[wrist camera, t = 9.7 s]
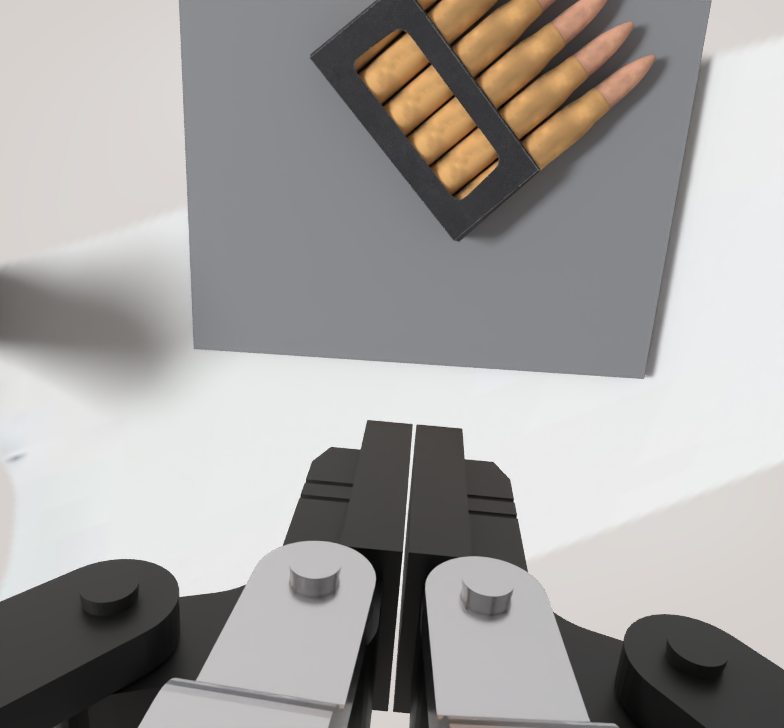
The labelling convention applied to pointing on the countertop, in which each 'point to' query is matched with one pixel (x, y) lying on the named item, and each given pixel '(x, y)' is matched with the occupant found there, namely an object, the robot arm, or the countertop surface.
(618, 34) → the ammunition clip
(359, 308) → the mat
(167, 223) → the countertop surface
